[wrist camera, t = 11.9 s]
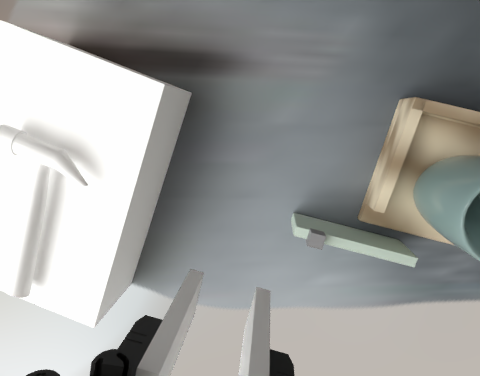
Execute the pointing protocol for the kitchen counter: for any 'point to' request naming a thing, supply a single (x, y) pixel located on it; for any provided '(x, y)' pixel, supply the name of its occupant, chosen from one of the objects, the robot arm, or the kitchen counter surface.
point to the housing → (416, 161)
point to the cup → (452, 200)
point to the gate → (350, 239)
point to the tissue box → (77, 171)
